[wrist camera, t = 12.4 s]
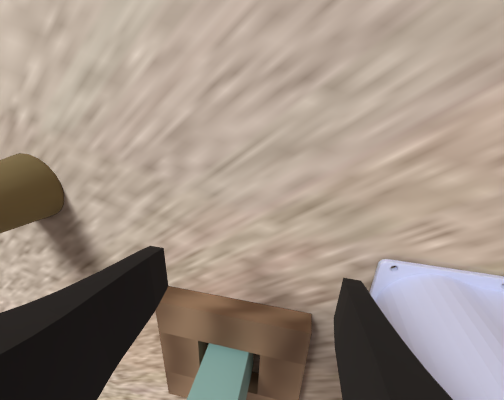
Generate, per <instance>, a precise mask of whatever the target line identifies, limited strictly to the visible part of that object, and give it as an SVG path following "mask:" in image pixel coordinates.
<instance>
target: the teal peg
mask: <svg viewBox="0 0 504 400" xmlns="http://www.w3.org/2000/svg"><path fill="white" fill-rule="evenodd" d="M252 368H253V353H250V352H245V351H241V350H237V349H232V348H228V347H224V346H219V345H215V344H210V343H209V345H208V347H207V350H206V352H205V355H204V357H203V360H202V362H201V365H200V367H199V370H198V372H197V375H196V378H195V380H194V383H193V385H192V388H191V390H190V393H189V395H188V398H187V400H246V397H247V392H248V387H249V383H250V378H251V373H252Z"/></svg>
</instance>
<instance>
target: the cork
mask: <svg viewBox="0 0 504 400" xmlns="http://www.w3.org/2000/svg"><path fill="white" fill-rule="evenodd" d="M63 204H64V193H63V190H62V186H61V184H60V182H59V180H58V178H57V177H56V175H55V174H54V173H53V171H52V170H51V169H50V168H49V167H48V166H47V165H46V164H45V163H43V162H42V161H41V160H39V159H38V158H36V157H33V156H31V155H29V154H21V153H19V154H16V155H13V156H10V157H7V158H5V159H2V160H0V233H2V232H5V231H8V230H11V229H14V228H17V227H20V226H23V225H26V224H29V223H32V222H34V221H37V220H40V219H43V218H46V217H49V216H52V215H55V214H57V213H58V212H59V211H60V210H61V209H62V206H63Z"/></svg>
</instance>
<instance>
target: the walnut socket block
mask: <svg viewBox="0 0 504 400" xmlns="http://www.w3.org/2000/svg"><path fill="white" fill-rule="evenodd" d="M156 316H157V322H158V328H159V334H160V341H161V347H162V353H163V359H164V365H165V372H166V378H167V384H168V390H169V393H170V394H174V395H178V396H181V397H185V398H188V395H189V393H190V390H191V388H192V385H193V383H194V380H195V378H196V375H197V372H198V370H199V367H200V365H201V362H202V360H203V357H204V355H205V352H206V350H207V343H210V344H215V345H219V346H224V347H228V348H232V349H237V350H241V351H245V352H250V353H254V354H259V355H260V365H259V374H258V373H254V372H252V373H251V378H250V383H249V387H248V392H247V397H246V400H299V394H300V389H301V384H302V379H303V374H304V369H305V364H306V359H307V353H308V348H309V343H310V338H311V314H310V313H304V312H299V311H294V310H289V309H284V308H279V307H273V306H268V305H263V304H258V303H253V302H248V301H242V300H237V299H232V298H227V297H222V296H217V295H211V294H206V293H201V292H196V291H191V290H185V289H180V288H175V287H170V286H168V288H167V290H166V292H165V294H164V296H163V298H162V300H161V301H160V303H159V305H158V307H157V309H156Z"/></svg>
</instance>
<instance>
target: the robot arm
mask: <svg viewBox="0 0 504 400" xmlns="http://www.w3.org/2000/svg"><path fill="white" fill-rule="evenodd" d="M392 266H396V267H395V268H391V267H392ZM502 284H504V276H498V275H491V274H484V273H477V272H471V271H464V270H457V269H451V268H444V267H437V266H431V265H424V264H417V263H410V262H404V261H397V260H390V259H383V260H381V261H379V263H378V266H377V269H376V272H375V276H374V279H373V282H372V286H371V289H370V292H368V290H367V289H366V287H365V286H364V284H363V283H362V282H361V281H359V280H353V279H347V278H343V282H342V286H341V290H340V295H339V299H338V303H337V307H336V311H335V315H334V338H335V351H336V358H337V365H338V372H339V378H340V385H341V392H342V398H343V400H504V285H502ZM167 288H168V280H167V272H166V264H165V256H164V248H160V247H154V246H149V247H147V248H144V249H142V250H140V251H138V252H136V253H134V254H132V255H130V256H128V257H127V258H125V259H123V260H121V261H119V262H117V263H115V264H113V265H111V266H109V267H107V268H105V269H103V270H101V271H99V272H97V273H95V274H93V275H91V276H89V277H87V278H85V279H83V280H81V281H79V282H76V283H74V284H72V285H70V286H68V287H66V288H64V289H61V290H59V291H57V292H54V293H52V294H50V295H47V296H45V297H42V298H40V299H37V300H35V301H32V302H30V303H27V304H25V305H22V306H19V307H16V308H14V309H11V310H8V311H5V312H2V313H0V400H97V399H98V397H99V395H100V394H101V392H102V390H103V388H104V387H105V385H106V383H107V382H108V380H109V378H110V376H111V375H112V373H113V371H114V370H115V368H116V367H117V365H118V364H119V362H120V361H121V359H122V358H123V356H124V355H125V354H126V352H127V351H128V349H129V348H130V346H131V345H132V343H133V342H134V341H135V339H136V338H137V336H138V335H139V333H140V332H141V331H142V329H143V328H144V326H145V325H146V323H147V322H148V321H149V319H150V318H151V316H152V315H153V313H154V312H155V310H156V309H157V307H158V305H159V303H160V301H161V300H162V298H163V296H164V294H165V292H166V290H167Z"/></svg>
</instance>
